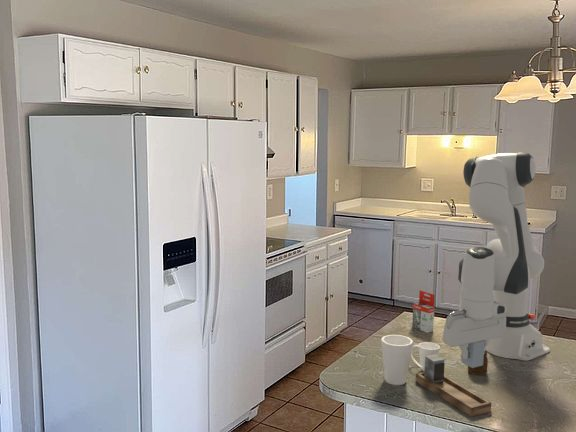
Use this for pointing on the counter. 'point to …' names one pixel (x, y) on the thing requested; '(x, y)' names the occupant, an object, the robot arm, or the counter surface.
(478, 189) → the robot arm
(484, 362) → the utensil holder
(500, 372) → the counter surface
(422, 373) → the rail
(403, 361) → the foam cup
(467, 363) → the pale grey rounded cube
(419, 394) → the counter surface
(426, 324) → the ink box
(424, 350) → the cup
